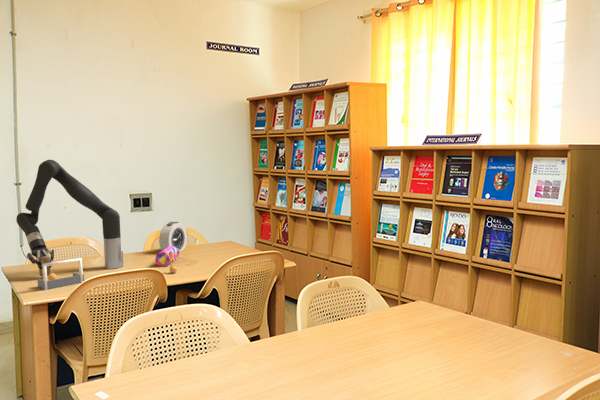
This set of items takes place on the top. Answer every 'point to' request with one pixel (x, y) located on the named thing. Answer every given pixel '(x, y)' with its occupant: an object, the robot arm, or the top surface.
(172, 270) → the figurine
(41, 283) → the grey basket with handle
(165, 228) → the alarm clock
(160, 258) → the pencil case
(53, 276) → the ball
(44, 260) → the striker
